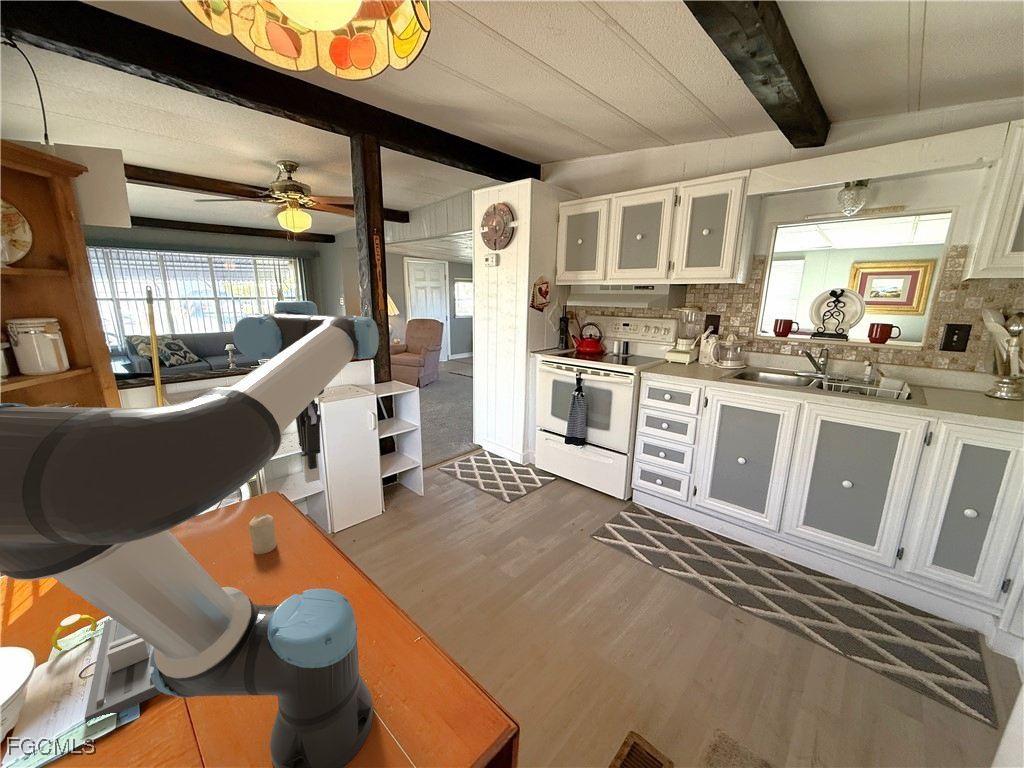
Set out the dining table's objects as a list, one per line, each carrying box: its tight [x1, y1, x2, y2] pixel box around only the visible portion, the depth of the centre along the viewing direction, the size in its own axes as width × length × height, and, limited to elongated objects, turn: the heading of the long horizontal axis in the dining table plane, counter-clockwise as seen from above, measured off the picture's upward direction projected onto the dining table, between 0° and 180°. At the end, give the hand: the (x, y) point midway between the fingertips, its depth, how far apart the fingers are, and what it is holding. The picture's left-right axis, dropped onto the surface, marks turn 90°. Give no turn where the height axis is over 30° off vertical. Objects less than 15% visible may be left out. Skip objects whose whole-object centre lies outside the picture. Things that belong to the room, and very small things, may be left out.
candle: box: [248, 512, 277, 555], centre depth 108 cm, size 6×6×10 cm
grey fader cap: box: [107, 634, 150, 673], centre depth 73 cm, size 3×5×4 cm, turn 130°
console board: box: [84, 618, 163, 724], centre depth 78 cm, size 24×18×3 cm
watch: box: [50, 613, 98, 652], centre depth 78 cm, size 6×3×6 cm, turn 156°
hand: (312, 480), depth 87 cm, fingers closed
